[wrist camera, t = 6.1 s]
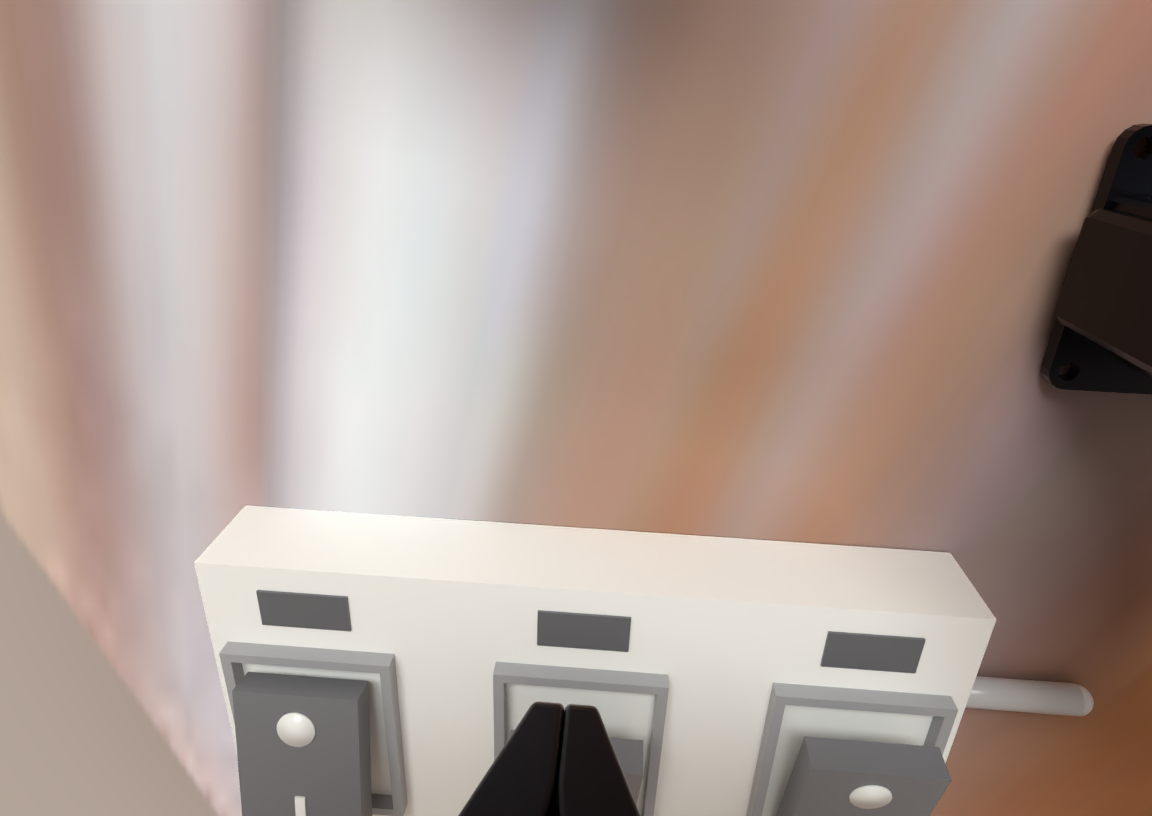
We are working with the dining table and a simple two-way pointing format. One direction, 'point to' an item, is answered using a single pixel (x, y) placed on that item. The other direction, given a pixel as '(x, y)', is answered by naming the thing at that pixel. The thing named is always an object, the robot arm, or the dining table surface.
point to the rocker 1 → (303, 745)
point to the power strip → (606, 646)
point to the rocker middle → (629, 761)
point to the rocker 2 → (864, 779)
